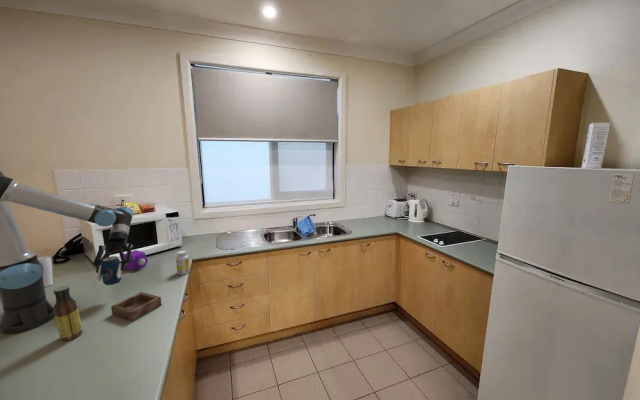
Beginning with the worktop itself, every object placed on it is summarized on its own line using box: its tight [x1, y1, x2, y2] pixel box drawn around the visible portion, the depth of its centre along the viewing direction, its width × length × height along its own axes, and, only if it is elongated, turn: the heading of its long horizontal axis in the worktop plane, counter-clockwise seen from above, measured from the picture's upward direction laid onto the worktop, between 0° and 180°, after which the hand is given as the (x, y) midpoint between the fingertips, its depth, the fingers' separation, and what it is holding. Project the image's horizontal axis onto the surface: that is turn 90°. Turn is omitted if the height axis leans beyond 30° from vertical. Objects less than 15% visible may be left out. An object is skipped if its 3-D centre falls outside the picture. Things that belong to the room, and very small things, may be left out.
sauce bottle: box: [53, 285, 83, 342], centre depth 96 cm, size 6×6×20 cm
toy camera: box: [124, 249, 148, 271], centre depth 159 cm, size 11×14×10 cm
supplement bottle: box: [175, 250, 191, 276], centre depth 152 cm, size 7×7×13 cm
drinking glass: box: [37, 256, 54, 288], centre depth 136 cm, size 7×7×15 cm
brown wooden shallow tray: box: [110, 291, 162, 322], centre depth 115 cm, size 13×13×4 cm
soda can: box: [101, 255, 123, 286], centre depth 122 cm, size 7×7×12 cm
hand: (108, 278), depth 119 cm, fingers closed on soda can, 7 cm apart
